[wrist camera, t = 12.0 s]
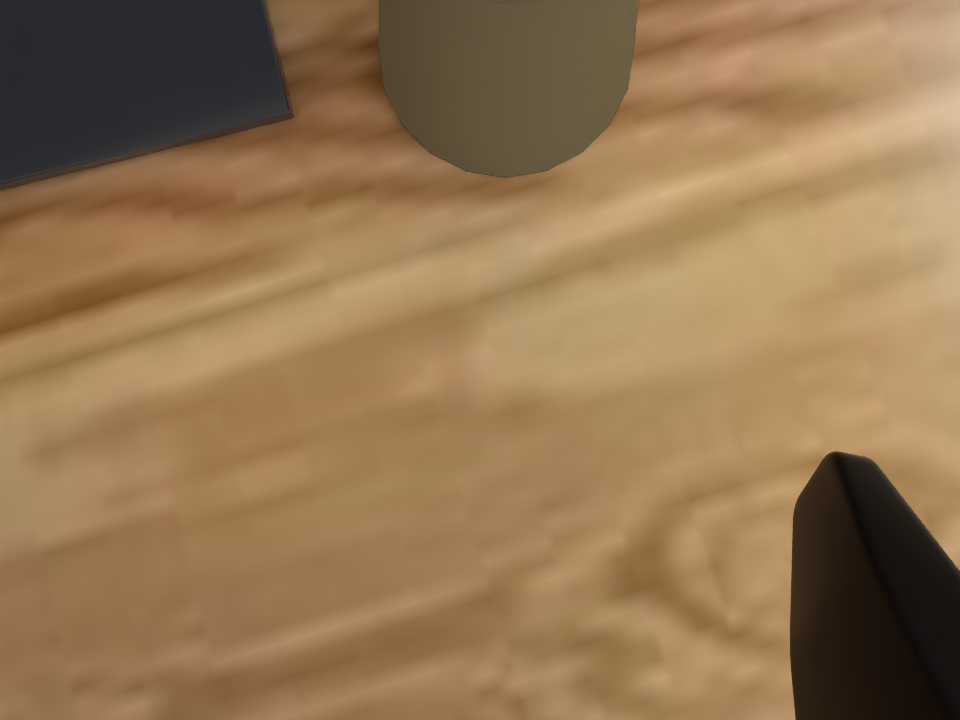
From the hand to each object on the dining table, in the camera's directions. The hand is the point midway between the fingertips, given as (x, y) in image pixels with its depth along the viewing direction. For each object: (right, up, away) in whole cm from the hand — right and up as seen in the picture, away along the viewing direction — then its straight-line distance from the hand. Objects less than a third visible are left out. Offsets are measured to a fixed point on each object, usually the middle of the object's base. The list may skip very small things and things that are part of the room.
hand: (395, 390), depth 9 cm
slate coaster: (-8, +9, +12) cm, 17 cm away
